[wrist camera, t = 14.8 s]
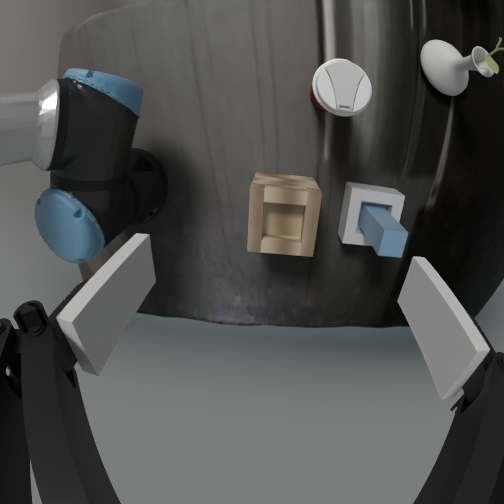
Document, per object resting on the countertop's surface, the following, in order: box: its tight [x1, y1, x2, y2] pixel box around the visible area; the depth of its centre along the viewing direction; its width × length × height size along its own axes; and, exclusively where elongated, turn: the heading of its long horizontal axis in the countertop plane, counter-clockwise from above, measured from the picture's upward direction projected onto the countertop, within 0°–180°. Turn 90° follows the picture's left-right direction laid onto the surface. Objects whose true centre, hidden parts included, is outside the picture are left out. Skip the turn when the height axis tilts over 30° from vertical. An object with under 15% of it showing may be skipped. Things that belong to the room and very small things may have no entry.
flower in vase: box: [421, 37, 504, 96], centre depth 21 cm, size 13×11×25 cm
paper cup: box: [310, 59, 372, 116], centre depth 33 cm, size 8×8×14 cm
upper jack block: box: [247, 173, 322, 257], centre depth 44 cm, size 10×10×10 cm
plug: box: [358, 203, 408, 257], centre depth 41 cm, size 4×5×12 cm
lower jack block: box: [338, 182, 405, 246], centre depth 46 cm, size 10×10×4 cm
